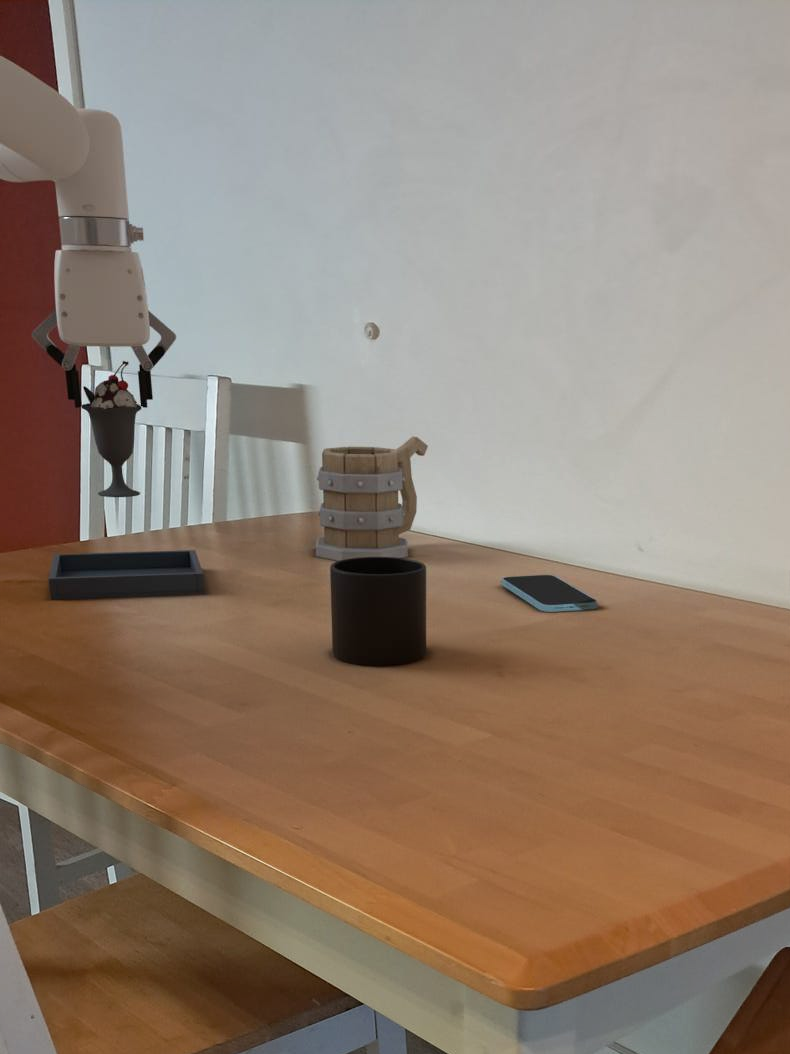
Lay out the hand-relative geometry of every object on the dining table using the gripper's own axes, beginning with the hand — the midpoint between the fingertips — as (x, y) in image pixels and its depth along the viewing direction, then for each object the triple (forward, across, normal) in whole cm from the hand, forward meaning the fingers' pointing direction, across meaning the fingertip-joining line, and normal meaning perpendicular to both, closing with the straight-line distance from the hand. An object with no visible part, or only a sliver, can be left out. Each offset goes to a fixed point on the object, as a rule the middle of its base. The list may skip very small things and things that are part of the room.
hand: (111, 405), depth 149 cm
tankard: (+21, -35, -17) cm, 44 cm away
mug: (+21, -24, +38) cm, 50 cm away
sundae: (+10, 0, 0) cm, 10 cm away
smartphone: (+21, -49, +17) cm, 56 cm away
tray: (+21, 0, 0) cm, 21 cm away
